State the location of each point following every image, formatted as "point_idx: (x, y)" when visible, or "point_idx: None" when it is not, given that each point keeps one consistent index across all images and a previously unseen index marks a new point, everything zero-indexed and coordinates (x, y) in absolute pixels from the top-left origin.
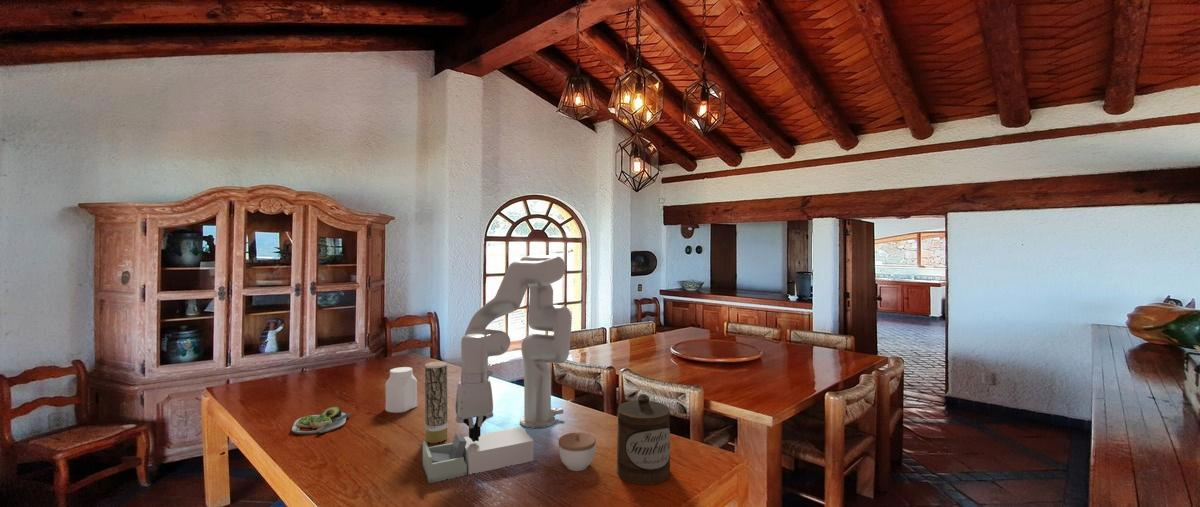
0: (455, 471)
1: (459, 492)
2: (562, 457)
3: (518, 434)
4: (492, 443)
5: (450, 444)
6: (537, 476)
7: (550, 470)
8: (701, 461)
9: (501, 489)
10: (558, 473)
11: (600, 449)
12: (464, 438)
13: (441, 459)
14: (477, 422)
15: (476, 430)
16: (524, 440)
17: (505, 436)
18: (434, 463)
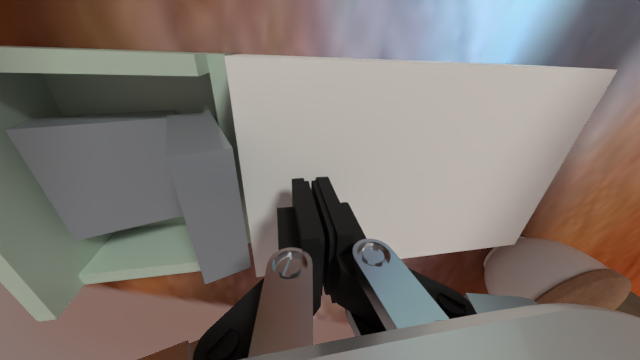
0: None
1: (223, 288)
2: (495, 293)
3: (527, 168)
4: (382, 220)
5: (157, 74)
6: (414, 270)
7: (453, 255)
8: (631, 290)
9: (322, 296)
10: (455, 270)
11: (610, 202)
12: (242, 222)
13: (128, 208)
14: (358, 303)
15: (324, 283)
16: (495, 233)
17: (471, 167)
18: (95, 280)
